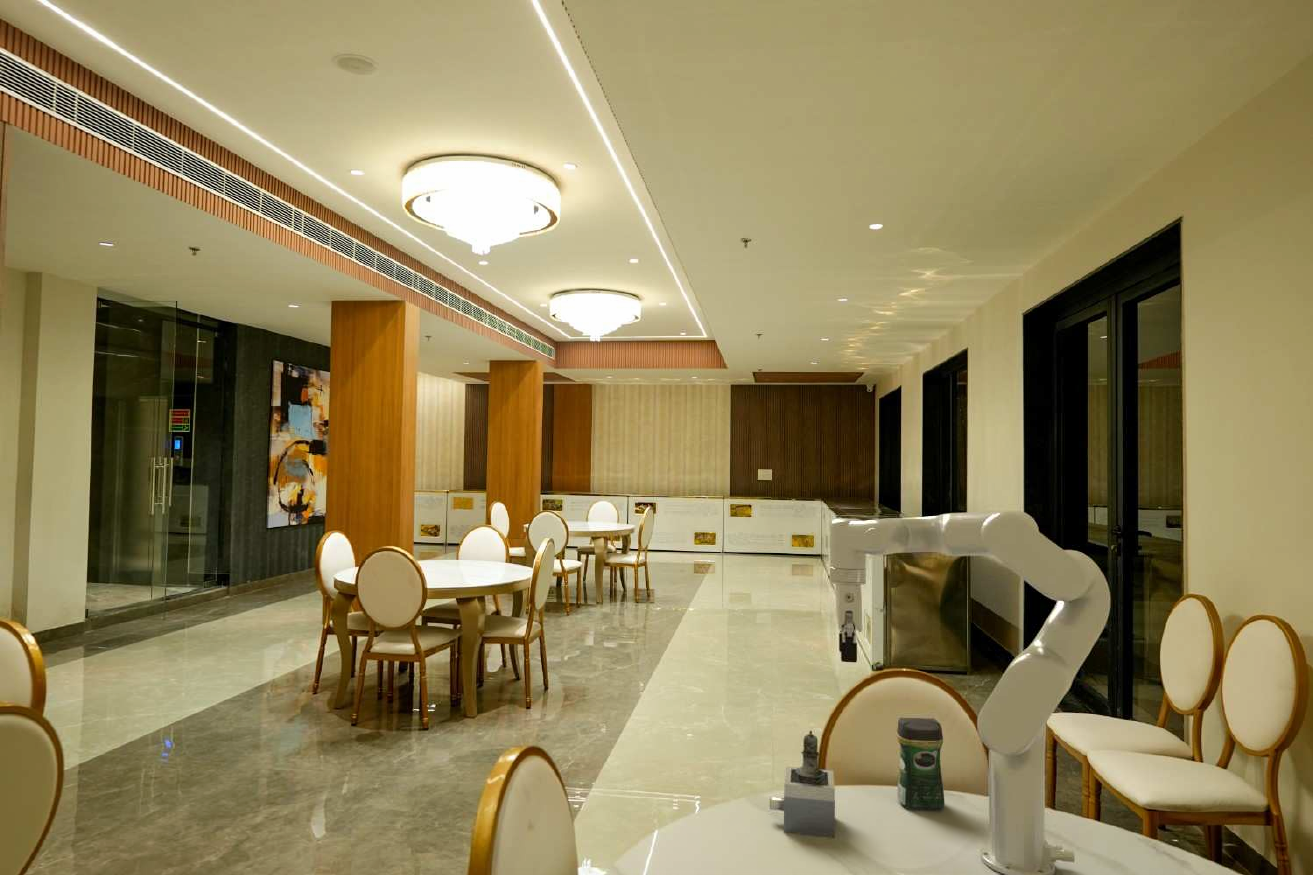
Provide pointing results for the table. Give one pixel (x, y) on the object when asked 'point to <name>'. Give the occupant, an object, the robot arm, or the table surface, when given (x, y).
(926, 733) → the coffee jar
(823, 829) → the grey open box
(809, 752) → the dark grey turned piece
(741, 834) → the table surface
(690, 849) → the table surface
